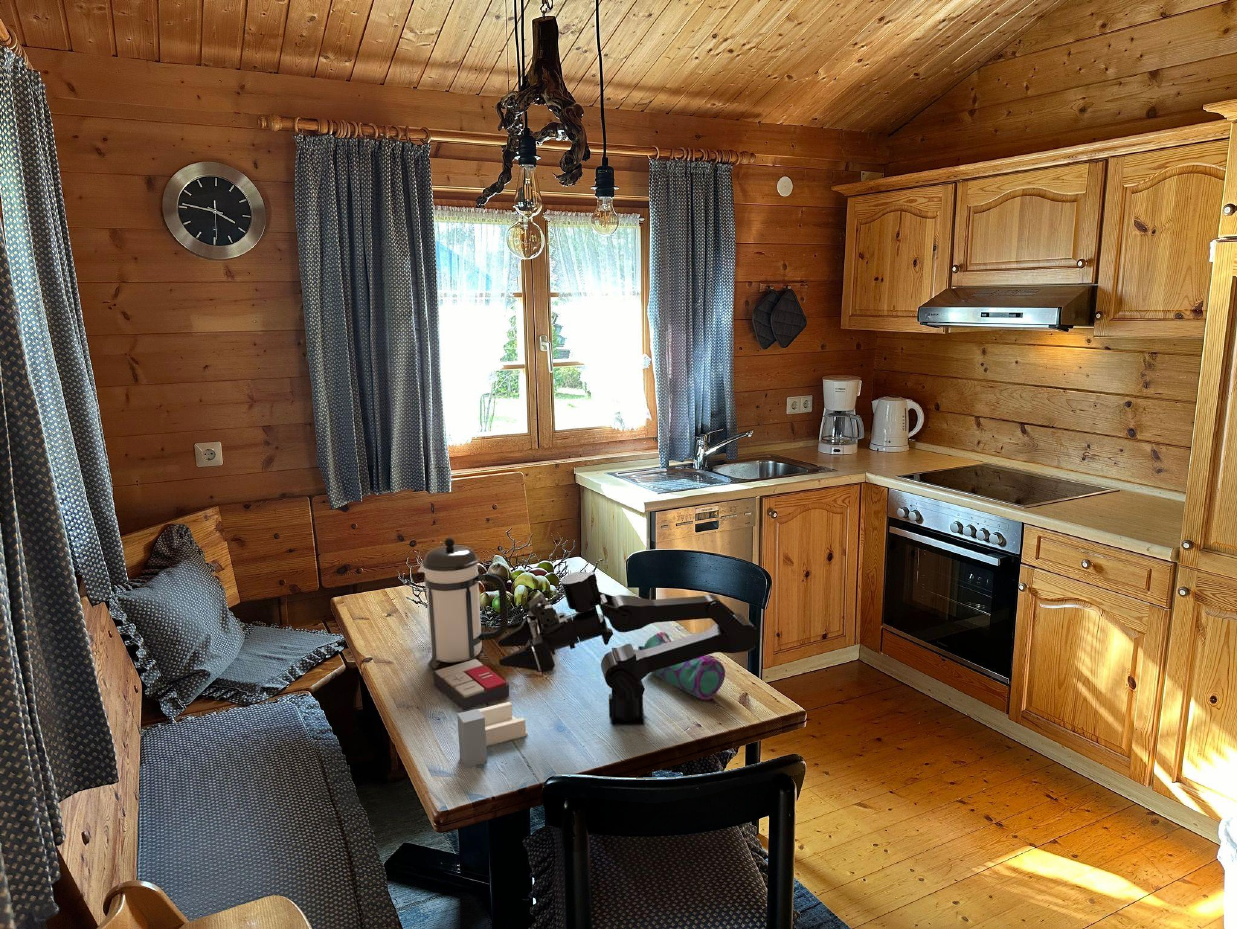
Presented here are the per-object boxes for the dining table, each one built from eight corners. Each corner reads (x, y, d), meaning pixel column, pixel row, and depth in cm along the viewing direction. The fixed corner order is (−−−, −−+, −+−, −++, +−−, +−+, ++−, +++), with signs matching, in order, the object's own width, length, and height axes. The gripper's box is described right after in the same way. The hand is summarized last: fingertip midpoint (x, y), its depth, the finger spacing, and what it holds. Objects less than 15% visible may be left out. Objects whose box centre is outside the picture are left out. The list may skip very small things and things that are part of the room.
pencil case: (637, 673, 199) (636, 633, 197) (667, 663, 204) (667, 624, 202) (696, 707, 182) (696, 664, 181) (728, 695, 187) (728, 653, 186)
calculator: (463, 696, 183) (432, 668, 194) (464, 714, 184) (432, 686, 195) (509, 681, 189) (476, 655, 201) (510, 699, 190) (477, 672, 202)
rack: (512, 717, 180) (511, 701, 179) (528, 736, 172) (527, 719, 171) (465, 729, 175) (464, 712, 175) (479, 749, 168) (478, 731, 167)
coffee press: (448, 680, 198) (439, 552, 192) (413, 658, 209) (404, 537, 203) (511, 657, 209) (505, 536, 203) (475, 638, 221) (468, 523, 215)
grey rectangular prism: (480, 752, 167) (477, 708, 165) (487, 762, 163) (484, 717, 161) (459, 757, 165) (457, 713, 163) (466, 767, 161) (463, 722, 160)
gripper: (559, 576, 180) (486, 599, 179) (568, 608, 162) (486, 634, 161) (574, 625, 183) (502, 648, 181) (584, 661, 165) (504, 687, 163)
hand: (498, 653), depth 172 cm, fingers open, 9 cm apart
